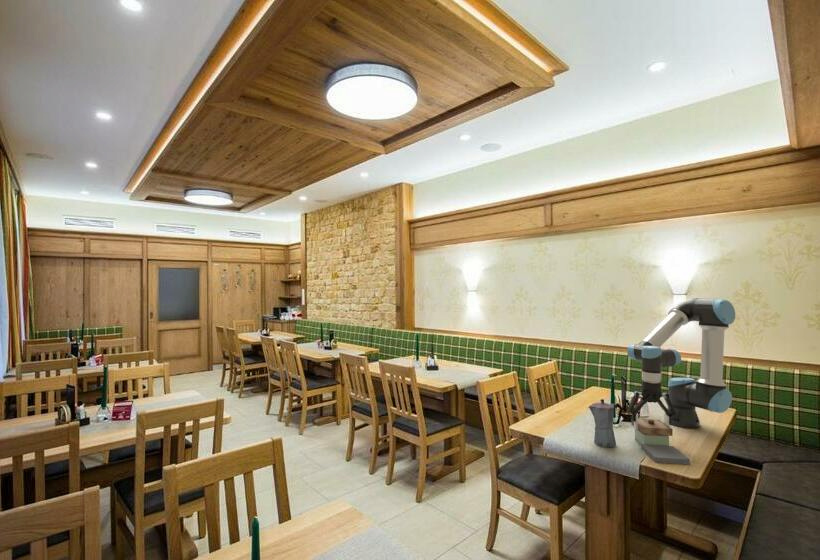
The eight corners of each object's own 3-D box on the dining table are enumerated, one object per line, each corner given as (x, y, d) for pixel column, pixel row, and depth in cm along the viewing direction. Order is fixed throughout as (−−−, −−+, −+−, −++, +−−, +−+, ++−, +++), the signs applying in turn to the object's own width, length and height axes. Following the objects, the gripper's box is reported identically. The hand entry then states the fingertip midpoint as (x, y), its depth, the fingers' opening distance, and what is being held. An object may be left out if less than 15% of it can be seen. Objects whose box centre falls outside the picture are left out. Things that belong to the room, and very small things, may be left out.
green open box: (658, 440, 183) (658, 427, 183) (669, 450, 173) (669, 436, 173) (634, 439, 184) (634, 426, 184) (644, 448, 174) (644, 434, 174)
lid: (659, 426, 184) (659, 416, 184) (672, 436, 172) (672, 425, 172) (631, 424, 185) (631, 415, 185) (642, 434, 174) (642, 424, 174)
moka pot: (583, 440, 184) (583, 396, 184) (615, 439, 185) (615, 395, 185) (594, 448, 174) (594, 402, 174) (628, 447, 175) (628, 402, 175)
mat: (673, 450, 172) (673, 446, 172) (689, 464, 159) (689, 459, 159) (641, 448, 174) (641, 444, 174) (654, 462, 161) (654, 457, 161)
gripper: (676, 380, 181) (676, 428, 181) (619, 378, 184) (619, 424, 184) (685, 384, 173) (685, 434, 173) (625, 382, 177) (625, 430, 177)
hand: (651, 429), depth 179 cm, fingers closed on lid, 12 cm apart
